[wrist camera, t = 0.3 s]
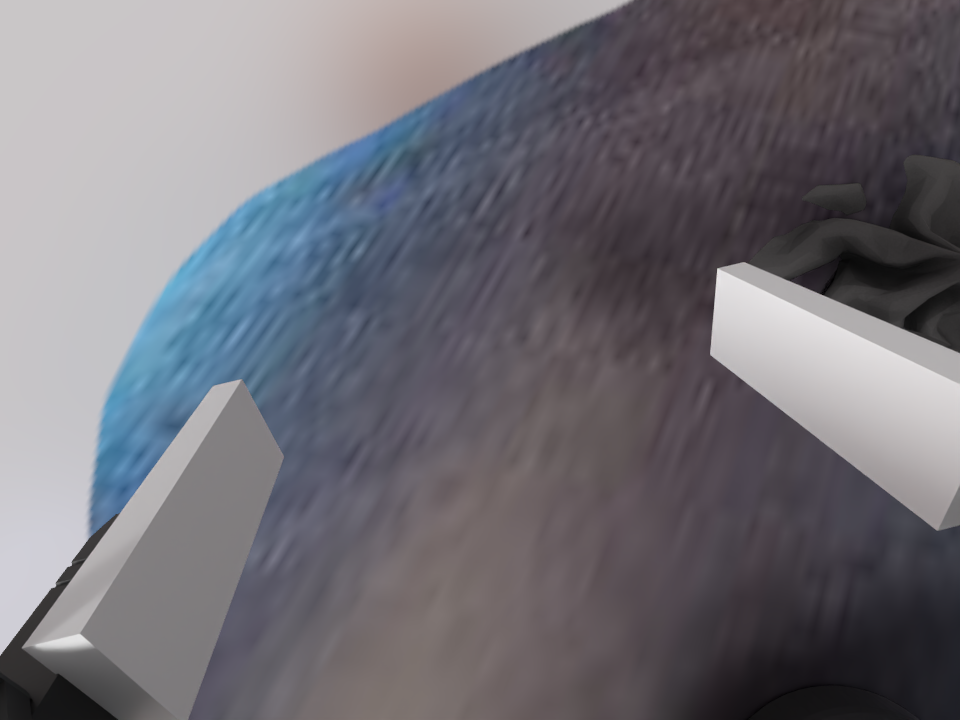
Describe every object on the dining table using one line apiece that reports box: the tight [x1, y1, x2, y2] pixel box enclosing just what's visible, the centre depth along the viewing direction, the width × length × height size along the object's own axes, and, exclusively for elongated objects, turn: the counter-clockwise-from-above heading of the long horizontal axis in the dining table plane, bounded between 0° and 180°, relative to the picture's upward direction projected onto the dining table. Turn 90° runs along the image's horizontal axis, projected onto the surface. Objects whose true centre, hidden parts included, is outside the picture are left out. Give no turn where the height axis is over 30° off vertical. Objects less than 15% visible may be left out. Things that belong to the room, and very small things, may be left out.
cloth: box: [747, 155, 960, 349], centre depth 26 cm, size 22×19×6 cm
